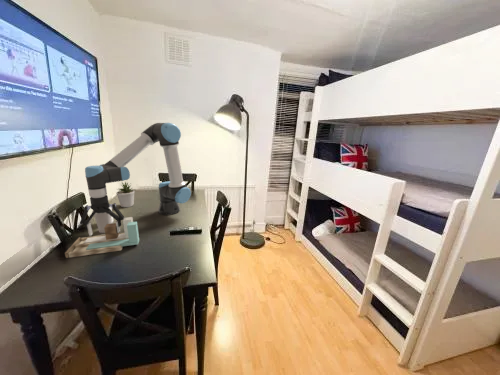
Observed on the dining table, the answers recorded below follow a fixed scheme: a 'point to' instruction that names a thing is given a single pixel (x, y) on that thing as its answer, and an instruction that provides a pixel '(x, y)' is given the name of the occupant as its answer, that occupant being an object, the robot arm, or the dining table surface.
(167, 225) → the dining table surface
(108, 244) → the strip teal
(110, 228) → the block
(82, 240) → the board
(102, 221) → the coffee cup
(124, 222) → the strip grey
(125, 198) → the potted plant
